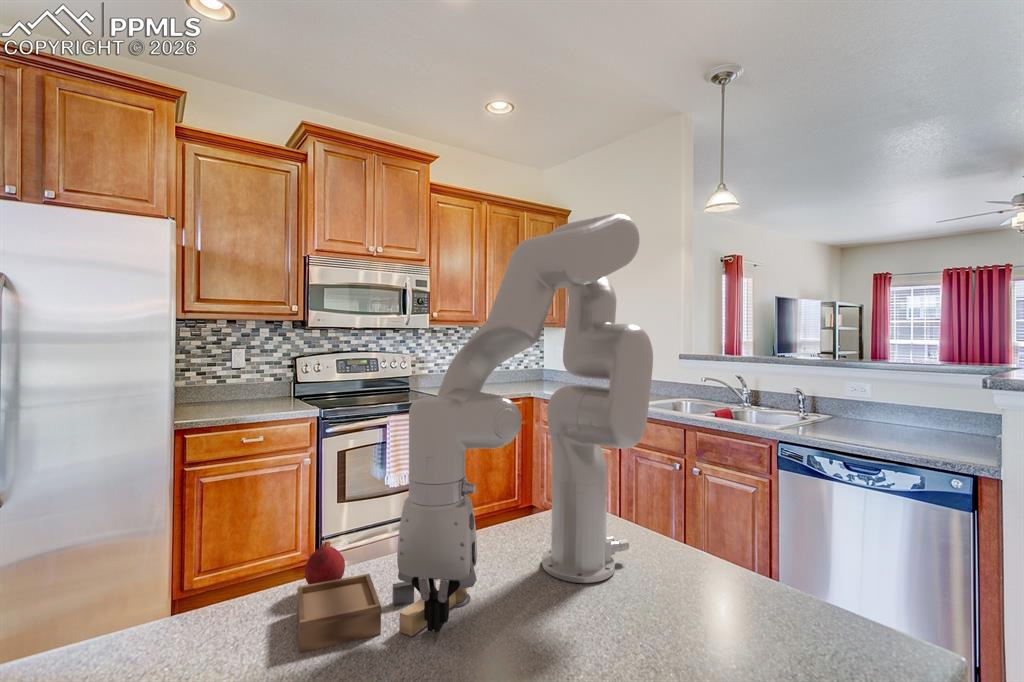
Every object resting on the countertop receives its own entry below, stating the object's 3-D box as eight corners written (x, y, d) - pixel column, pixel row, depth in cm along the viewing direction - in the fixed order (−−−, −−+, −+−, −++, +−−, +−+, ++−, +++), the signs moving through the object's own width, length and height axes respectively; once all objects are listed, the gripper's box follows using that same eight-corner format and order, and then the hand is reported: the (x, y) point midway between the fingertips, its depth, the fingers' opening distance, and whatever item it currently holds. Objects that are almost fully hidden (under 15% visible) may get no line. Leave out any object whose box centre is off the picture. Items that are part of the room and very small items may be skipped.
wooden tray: (369, 598, 76) (369, 573, 76) (380, 634, 67) (381, 605, 67) (297, 612, 72) (297, 586, 72) (299, 652, 63) (299, 622, 63)
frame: (463, 588, 80) (463, 562, 79) (474, 603, 75) (474, 576, 75) (392, 602, 75) (392, 575, 75) (399, 620, 70) (399, 591, 70)
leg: (454, 590, 78) (454, 574, 78) (470, 595, 76) (470, 579, 76) (396, 630, 67) (396, 611, 67) (414, 637, 66) (414, 618, 66)
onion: (331, 604, 74) (331, 550, 74) (296, 600, 75) (296, 547, 75) (351, 585, 80) (351, 535, 80) (318, 582, 81) (319, 532, 81)
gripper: (497, 485, 70) (496, 616, 70) (396, 479, 72) (395, 605, 72) (484, 503, 62) (484, 649, 62) (372, 495, 65) (372, 636, 65)
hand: (436, 625), depth 67 cm, fingers closed
